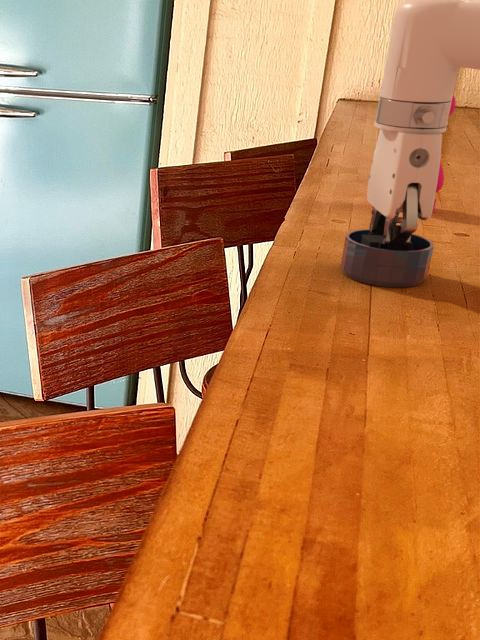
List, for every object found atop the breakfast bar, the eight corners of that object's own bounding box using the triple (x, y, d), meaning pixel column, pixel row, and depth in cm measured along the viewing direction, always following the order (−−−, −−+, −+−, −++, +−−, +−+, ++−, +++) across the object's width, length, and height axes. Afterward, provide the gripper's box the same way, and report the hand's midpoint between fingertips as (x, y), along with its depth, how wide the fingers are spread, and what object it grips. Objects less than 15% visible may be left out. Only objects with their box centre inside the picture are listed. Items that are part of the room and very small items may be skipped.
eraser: (398, 267, 109) (404, 235, 108) (407, 275, 106) (413, 243, 104) (356, 265, 110) (362, 234, 108) (364, 274, 106) (370, 241, 105)
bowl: (410, 265, 112) (417, 230, 110) (438, 290, 103) (446, 253, 101) (331, 262, 113) (336, 227, 111) (351, 286, 104) (358, 249, 102)
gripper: (475, 128, 93) (438, 293, 100) (421, 106, 108) (392, 252, 115) (401, 126, 93) (369, 291, 101) (357, 104, 108) (333, 249, 116)
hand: (382, 268), depth 108 cm, fingers closed on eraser, 3 cm apart
